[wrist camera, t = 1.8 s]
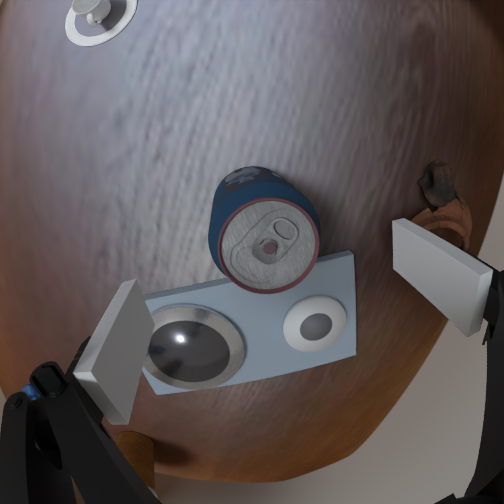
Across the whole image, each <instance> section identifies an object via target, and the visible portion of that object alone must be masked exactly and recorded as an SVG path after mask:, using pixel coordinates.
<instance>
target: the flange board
mask: <svg viewBox="0 0 504 504" xmlns="http://www.w3.org/2000/svg"><path fill="white" fill-rule="evenodd" d="M143 297H144V300H145V302H146V305H147V307H148V309H149V312H150V313H152V312H153V311H155V310H156V309H158V308H160V307H163V306H166V305H169V304H175V303H195V304H200V305H204V306H207V307H210V308H212V309H214V310H217V311H218V312H220V313H222V314H223V315H225V316H226V317H227V318H229V319H230V320H231V321H232V322H233V323H234V325H235V326H236V327H237V329H238V330H239V332H240V334H241V337H242V341H243V347H244V358H243V362H242V365H241V367H240V369H239V370H238V372H237V373H236V374H235V375H234V376H233V377H232V378H231V379H229V380H228V381H227V382H225V383H223V384H221V385H219V386H216V387H221V386H227V385H233V384H238V383H244V382H249V381H254V380H259V379H264V378H269V377H273V376H278V375H282V374H287V373H291V372H295V371H299V370H303V369H307V368H311V367H315V366H319V365H322V364H326V363H330V362H333V361H337V360H340V359H344V358H347V357H350V356H353V355H356V295H355V271H354V254H353V253H352V252H351V251H350V250H346V251H342V252H338V253H334V254H330V255H325V256H321V257H317V260H316V262H315V265H314V267H313V268H312V270H311V271H310V273H309V274H308V275H307V276H306V278H305V279H304V280H303V281H301V282H300V283H299V284H298V285H296V286H295V287H293V288H291V289H289V290H286V291H283V292H280V293H275V294H257V293H252V292H249V291H247V290H244V289H242V288H240V287H239V286H237V285H236V284H235V283H233V282H232V281H231V280H230V279H229V278H224V279H219V280H214V281H210V282H205V283H200V284H196V285H191V286H186V287H181V288H177V289H172V290H167V291H162V292H157V293H153V294H148V295H143ZM142 371H143V373H144V375H145V376H146V378H147V380H148V381H149V383H150V385H151V386H152V388H153V390H154V391H155V393H156V395H159V394H169V393H178V392H186V391H194V390H188V389H181V388H177V387H173V386H171V385H168V384H166V383H164V382H162V381H160V380H158V379H157V378H155V377H154V376H153V375H151V374H150V373H149V372H148V371H147V370H146V369H145V368H144V366H143V368H142ZM213 388H215V387H213Z"/></svg>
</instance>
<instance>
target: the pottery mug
mask: <svg viewBox="0 0 504 504" xmlns="http://www.w3.org/2000/svg"><path fill="white" fill-rule="evenodd" d="M418 184H419V185H420V186H421V187H422V189H423V192H424V195H425V198H426V199H427V200H428V201H429V203H430V204H432V205H433V206H435V207H439V208H438V209H437V210H436V211H434V212H432V211H431V210H430V208H429V207H428V208H426V209H425V210H423V211H422V212H421V213H419V214H418V215H416V216H415V217H414V218H413V219H412V220H411V221H410V222H412V223H414V224H416V225H418V226H420V227H422V228H423V229H425V230H427V231H430V230H433V229H436V228H439V227H441V228H449V229H452V230H454V231H456V232H458V233H459V234H460V235H461V237H462V245H461V247H460V248H459V249H461V250H464V251H467V252H469V246H470V239H469V237H470V235H471V230H472V219H471V214H470V211H469V208H468V205H467V203H465V201H464V199H463V198H462V197H461V196H460V195H459V193H458V192H457V191H456V190H455V189H454V184H453V181H452V176H451V169H450V166H449V165H448V164H447V163H445V162H443V161H442V160H435V161H432V162H431V163H430V164H429V165H428V167H427V170H426V173H425V176H424V177H423V178H421V179H420V180H419V181H418ZM391 232H392V235H393V228H392V222H391Z"/></svg>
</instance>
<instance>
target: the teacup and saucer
mask: <svg viewBox="0 0 504 504" xmlns="http://www.w3.org/2000/svg"><path fill="white" fill-rule="evenodd" d="M136 7H137V0H127V7H126V11H125V13H124V15H123V17H122V18H121V20H120V21H119V22H118V23H117V24H116V25H115V26H114V27H113V28H112V29H110V30H109V31H107V32H106V33H104V34H101V35H99V36H94V37H86V36H83V35H81V34H79V33H78V32H77V30H76V28H75V25H74V20H75V16H76V14H77V15H79V16H81V17H83V18H85V19H87V21H88V23H89V24H90V25H91V26H93V27H95V26H98V25H99V24H100V23H101V22H102V19H104V18H105V17H107V16H108V14H109V13H110V10H111V4H110V1H109V0H73V3H72V7H71V9H70V11H69V13H68V15H67V18H66V23H65V29H66V34H67V36H68V38H69V39H70V40H71V41H72V42H73V43H75V44H77V45H80V46H95V45H98V44H101V43H104V42H106V41H108V40H110V39H112V38H113V37H115V36H116V35H117V34H119V33H120V32H121V31H122V30H123V29H124V28H125V27H126V26H127V25H128V23H129V22H130V20H131V19H132V17H133V15H134V13H135V11H136ZM95 21H97V23H96V22H95Z"/></svg>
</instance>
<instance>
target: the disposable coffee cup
mask: <svg viewBox="0 0 504 504" xmlns="http://www.w3.org/2000/svg"><path fill="white" fill-rule="evenodd" d="M115 444H116V445H117V446H118V448H119V449H120V451H121V452H122V454H123V455H124V457H125V458H126V459H127V461H128V462H129V463H130V465H131V466H132V467H133V469H134V470H135V471H136V473H137V474H138V475H139V477H140V478H141V479H142V480H143V482H144V483H145V484H146V485H147V487H148V488H149V489H150V490H151V492H152V493H153V494H154V495H155V496H156V497H157V495H156V492H155V481H154V444H153V442H152V441H151V439H149V438H148V437H146V436H144V435H142V434H140V433H136V432H130V431H125V432H121V433H120V434H119V435H118V438H117V440H116V442H115ZM157 499H158V497H157Z"/></svg>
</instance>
